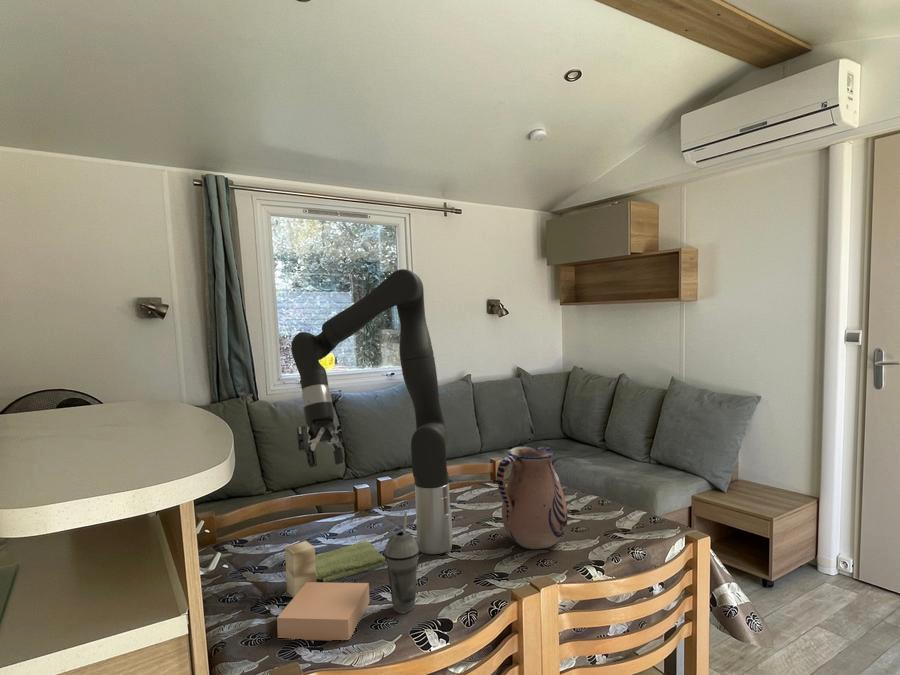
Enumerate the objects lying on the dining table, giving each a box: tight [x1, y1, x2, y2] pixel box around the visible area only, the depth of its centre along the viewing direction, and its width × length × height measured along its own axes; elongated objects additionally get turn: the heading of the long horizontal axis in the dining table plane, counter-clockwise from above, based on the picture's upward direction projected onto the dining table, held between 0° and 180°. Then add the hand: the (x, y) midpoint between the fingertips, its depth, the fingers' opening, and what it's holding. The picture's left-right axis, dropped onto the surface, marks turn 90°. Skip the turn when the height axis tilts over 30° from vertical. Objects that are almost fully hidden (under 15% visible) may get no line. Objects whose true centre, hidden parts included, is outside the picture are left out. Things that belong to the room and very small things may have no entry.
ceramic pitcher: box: [496, 445, 569, 550], centre depth 133 cm, size 18×21×25 cm
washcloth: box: [315, 540, 386, 583], centre depth 125 cm, size 13×18×3 cm
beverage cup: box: [383, 510, 420, 613], centre depth 104 cm, size 7×7×20 cm
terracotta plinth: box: [276, 581, 370, 642], centre depth 101 cm, size 14×14×4 cm
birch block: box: [284, 540, 317, 599], centre depth 113 cm, size 5×5×10 cm
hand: (326, 465), depth 128 cm, fingers open, 8 cm apart
